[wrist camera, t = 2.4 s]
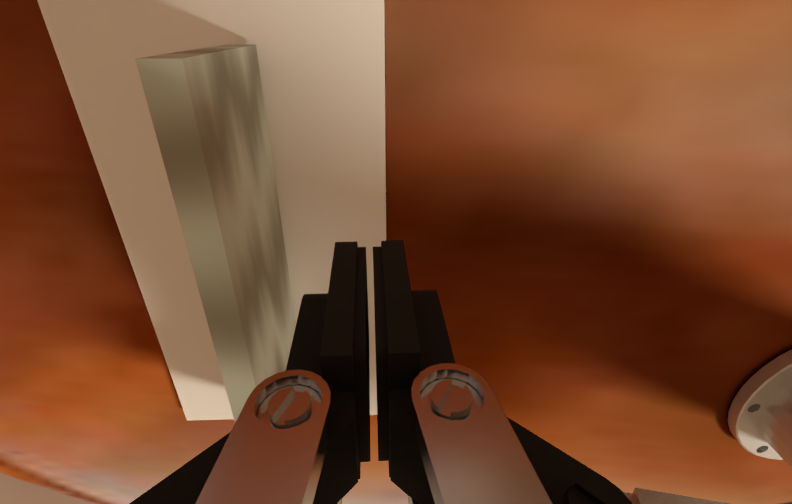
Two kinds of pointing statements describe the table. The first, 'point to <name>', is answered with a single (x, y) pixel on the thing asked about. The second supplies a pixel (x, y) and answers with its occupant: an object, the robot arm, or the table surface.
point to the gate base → (288, 133)
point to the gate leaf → (226, 204)
